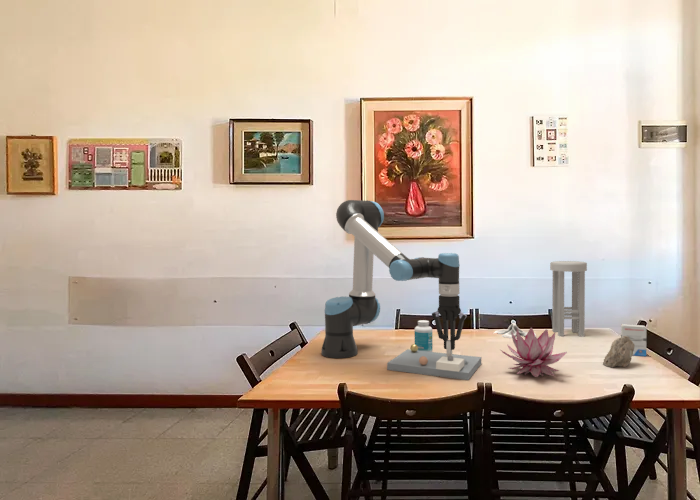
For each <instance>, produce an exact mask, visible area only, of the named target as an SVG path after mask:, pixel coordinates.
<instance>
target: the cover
mask: <svg viewBox="0 0 700 500" xmlns="http://www.w3.org/2000/svg"><path fill="white" fill-rule="evenodd" d="M463 367H464V359H462V358H453V357H452V356H448V357H444V356H442V357H441V358H440V359H439V360H438V361H437V362H436V369H440V370H448V371H457V372H459V371H460V370H461V369H462V368H463Z"/></svg>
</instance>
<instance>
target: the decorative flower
mask: <svg viewBox="0 0 700 500" xmlns="http://www.w3.org/2000/svg"><path fill="white" fill-rule="evenodd" d="M518 328H519V327H518ZM518 328H517V332H516V335H517V337H516V338H517V339H516V338H515V336H514V334H513V332H512V331H511V334H512V338H511V339H512V343H513V345H514V346H515V348H516V350H515V349H514V348H512V347H511V346H510V345H509V344H507V347H508V349H509V351H510V352H511V353H512V354H513V355H510V354H509V353H507V352H505V351H503V350H501V349H500V351H501V352H502V354H504V355H505V356H507V357H508V358H511V359H512V360H513V361H515V362H517V363H513V365H514V367H508V369H510V370H515V369H520V368H521V369H520V370H518V372H516V374H517V375H518V374H519V375H520V374H523V373H524V376H526V375H528V374H529V373H530V374H531V375H532V376H533V377H534V378H535V377H536V378H538V377H539V376H540V375H541V376H542V377H544V374H545V375H547V376H548V375H549V376H554V377H555V376H556V375H555V373H553V372H559V371H560V370H559V369H556V368H554V367H551V366H549V365H553V364H555V363H558V362H559V361H560V360H561V359H562V358H563V357H564V356H565V355H566V354H568V352H567V351H565V352H560V353H556V354H555V353H554V354H553V352H554V351H553V350H554V343H555V339H556V332H553V334H552V335H549V329H545V330H543V331H542V333H541V334H540V335H539V336H538V337H537V335H536V336H535V334H536V333H535V332H534V329H533V327H530V328H529V330H528V331H527V332H528V333H527V335H526V337H523V336H520V334H519V331H518ZM534 333H535V334H534Z"/></svg>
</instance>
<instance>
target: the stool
mask: <svg viewBox="0 0 700 500" xmlns="http://www.w3.org/2000/svg"><path fill="white" fill-rule="evenodd" d="M549 266H550V269H549V270H550V271H552V312H551V313H552V315H551V316H552V318H551V320H552V322H551V325H552V327H551V328H552V332H553V333H557V336H559V337H565V320H571V333H577V336H578V337H582V338H583V337H585V326H586V325H585V322H586V321H585V318H586V317H585V316H586V315H585V313H586V312H585V311H586V310H585V308H586V306H585V303H586V301H585V300H586V299H585V298H586V296H585V295H586V287H585V286H586V282H585V281H586V274H585V273H586V271H587V270H588V267H587V266H588V263H587V262H586V261H577V260H557V261H556V260H555V261H550V265H549ZM565 272H568V273H569V272H570V273H571V306H565Z"/></svg>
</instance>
